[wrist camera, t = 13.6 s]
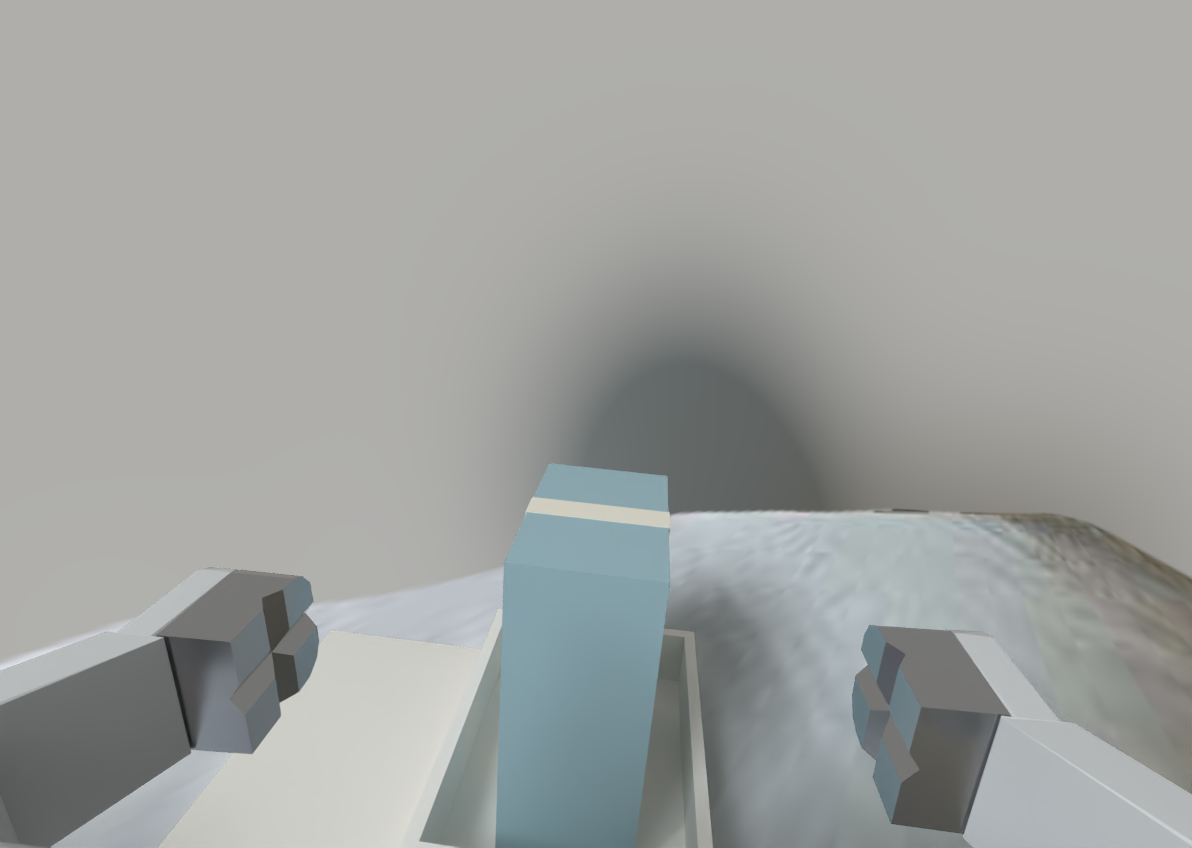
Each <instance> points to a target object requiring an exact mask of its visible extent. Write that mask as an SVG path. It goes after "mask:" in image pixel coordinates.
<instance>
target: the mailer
mask: <svg viewBox="0 0 1192 848" xmlns="http://www.w3.org/2000/svg"><path fill="white" fill-rule="evenodd" d="M502 615H503V608H498V611H497V613H496V615H495V618H494V620H493V623H492V625H491V628H490V630H489V633H488V635H487V637H486V640H485V642H484V645H483V647H482V649H476V648H468V647H460V646H452V645H445V644H437V643H429V642H421V641H413V640H406V639H398V638H390V637H382V636H374V635H367V634H359V633H351V632H343V631H335V630H331V631H330V632H329V633H328V634H327V636H326V637H325V638H324V639H323V641H322V642H321V643H320V644H319V646H318V655H317V659H316V662H315V665H314V667H313V670H312V673H311V675H310V677H309V679H308V680H307V682H306V683H305V684H304V686H303V687H302V689H301V690H300V691H299V692H298V693H296V694H295V695H293V696H291V697H289V698H288V699H286V700H284V701H282V702H280V709H281V717H280V718H279V720H278V721H277V722H276V724H275V725H274V726H273V728H272V729H271V730H270V732H269V733H268V734H267V735H266V737H265V738H264V739H263V741H262V742H261V743H260V745H259V746H258V747H257V749H256V750H255V751H254V753H253V754H242V753H233V754H232V755H231V756H230V757H229V759H228V760H227V761H226V762H225V764H224V765H223V766H222V767H221V769H220V770H219V771H218V772H217V774H216V775H215V776H214V777H213V779H212V780H211V781H210V782H209V784H208V785H207V786H206V788H205V789H204V790H203V791H202V793H201V794H200V795H199V796H198V798H197V799H196V800H195V801H194V803H193V804H192V805H191V806H190V808H189V809H188V810H187V811H186V813H185V814H184V815H183V816H182V818H181V819H180V820H179V821H178V823H177V824H176V825H175V826H174V828H173V829H172V830H171V831H170V833H169V834H168V835H167V836H166V838H165V839H164V840H163V842H162V843H161V844H160V845H159V847H158V848H495V839H496V807H497V775H498V743H499V711H500V679H501V647H502ZM635 848H713V841H712V830H711V819H710V807H709V796H708V784H707V773H706V761H705V750H704V739H703V727H702V716H701V704H700V693H699V682H698V670H697V659H696V647H695V636H694V632H691V631H683V630H675V629H667V628H664V633H663V640H662V648H661V655H660V663H659V671H658V678H657V686H656V693H655V701H654V708H653V716H652V724H651V731H650V739H649V746H648V754H647V762H646V769H645V777H644V784H643V792H642V800H641V807H640V815H639V822H638V830H637V837H636V845H635Z"/></svg>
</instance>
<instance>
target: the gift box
mask: <svg viewBox="0 0 1192 848" xmlns="http://www.w3.org/2000/svg"><path fill="white" fill-rule="evenodd" d="M667 487H668V486H667V476H660V475H652V474H643V473H634V472H624V471H615V470H606V469H596V468H586V467H577V466H569V465H560V464H549V465H548V467H547V469H546V472H545V474H544V476H543V478H542V480H541V483H540V485H539V487H538V489H537V491H536V494H535V496H534V497H532V499H531V501H530V503H529V506H528V508H527V510H526V516H525V518H524V520H523V522H522V524H521V527H520V529H519V531H518V533H517V535H516V538H515V540H514V542H513V544H512V546H511V549H510V551H509V553H508V555H507V558H506V560H505V562H504V583H503V615H502V647H501V679H500V711H499V743H498V775H497V807H496V839H495V848H635V845H636V837H637V830H638V822H639V815H640V807H641V800H642V792H643V784H644V777H645V769H646V762H647V754H648V746H649V739H650V731H651V724H652V716H653V708H654V701H655V693H656V686H657V678H658V671H659V663H660V655H661V648H662V640H663V633H664V625H665V617H666V610H667V602H668V595H669V587H670V560H669V533H670V513H669V512H668V488H667Z"/></svg>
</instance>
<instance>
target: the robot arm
mask: <svg viewBox="0 0 1192 848" xmlns="http://www.w3.org/2000/svg"><path fill="white" fill-rule="evenodd" d="M312 603H313V596H312V591H311V585H310V582H309V581H308V580H306V579H305V578H303V577H302V576H294V575H284V574H275V573H266V572H256V571H247V570H236V569H226V568H214V567H209V568H204V569H199V570H197V571H196V572H195V573H193V574H192V575H191V576H190V577H188V578H187V579H186V580H184V581H183V582H182V583H181V584H179V585H178V586H177V587H175V588H174V589H173V590H171V591H170V592H169V593H167V594H166V595H165V596H164V597H162V598H161V599H160V600H159V601H157V602H156V603H154V604H153V605H152V606H151V607H149V608H148V609H147V610H145V611H144V612H143V613H141V614H140V615H139V616H137V617H136V618H135V619H134V620H132V621H131V622H130V623H128V624H127V625H126V626H124V627H123V628H122V629H121V630H119V631H118V632H117V633H114V632H104V633H101V634H98V635H96V636H93V637H90V638H88V639H85V640H82V641H80V642H77V643H74V644H71V645H69V646H66V647H63V648H61V649H58V650H55V651H53V652H50V653H47V654H44V655H42V656H39V657H36V658H34V659H31V660H28V661H26V662H23V663H20V664H17V665H15V666H12V667H9V668H7V669H4V670H1V671H0V848H50V847H51V846H52V845H54V844H55V843H57V842H58V841H60V840H61V839H63V838H64V837H66V836H67V835H69V834H70V833H72V832H73V831H75V830H76V829H78V828H79V827H81V826H82V825H84V824H85V823H87V822H88V821H90V820H91V819H93V818H94V817H96V816H97V815H99V814H100V813H102V812H103V811H105V810H106V809H108V808H109V807H111V806H112V805H114V804H115V803H117V802H118V801H120V800H121V799H123V798H124V797H126V796H127V795H129V794H130V793H132V792H133V791H135V790H136V789H138V788H139V787H141V786H142V785H144V784H145V783H147V782H148V781H150V780H151V779H153V778H154V777H156V776H157V775H159V774H160V773H162V772H163V771H165V770H166V769H168V768H169V767H171V766H172V765H174V764H175V763H177V762H178V761H180V760H181V759H183V758H184V757H186V756H187V755H189V754H190V753H191V750H203V751H216V752H229V753H242V754H253V753H254V751H255V750H256V749H257V747H258V746H259V745H260V743H261V742H262V741H263V739H264V738H265V737H266V735H267V734H268V733H269V732H270V730H271V729H272V728H273V726H274V725H275V724H276V722H277V721H278V720H279V718H280V717H281V709H280V702H282V701H284V700H286V699H288V698H289V697H291V696H293V695H295V694H296V693H298V692H299V691H300V690H301V689H302V687H303V686H304V684H305V683H306V682H307V680H308V679H309V677H310V675H311V673H312V670H313V667H314V665H315V662H316V659H317V655H318V644H319V638H318V630H317V626H316V625H315V624H314V623H313V621H312V620H311V619H310V618H309V617H308V616H307V614H306V612H307V610H308V609H309V607H310V606H311V604H312ZM861 650H862V652H863V655H864V657H865V659H866V661H867V663H868V665H867V666H866V667H865V668H864V669H863V670H862V671H860V672H859V673H858V674H857V675H856V676H855V682H854V688H853V694H852V706H853V719H854V724H855V729H856V733H857V736H858V739H859V741H860V744H861V747H862V749H864V750H865V751H866V752H867V753H868V754H869V755H870V756H871V757H873V758H874V759H875V760H876V765H875V770H874V774H873V779H874V781H875V784H876V786H877V789H878V791H879V794H880V797H881V799H882V802H883V804H884V807H885V809H886V812H887V814H888V817H889V820H890V822H891V824H896V825H903V826H910V827H918V828H925V829H932V830H940V831H947V832H954V833H961V834H964V835H963V838H964V839H965V840H966V841H967V842H968V843H969V844H970V845H971V846H972V847H973V848H1192V794H1190V793H1188V792H1187V791H1185V790H1184V789H1182V788H1180V787H1179V786H1177V785H1175V784H1174V783H1172V782H1170V781H1169V780H1167V779H1165V778H1164V777H1162V776H1160V775H1159V774H1157V773H1155V772H1154V771H1152V770H1151V769H1149V768H1147V767H1146V766H1144V765H1142V764H1141V763H1139V762H1137V761H1136V760H1134V759H1132V758H1131V757H1129V756H1127V755H1126V754H1124V753H1123V752H1121V751H1119V750H1118V749H1116V748H1114V747H1113V746H1111V745H1109V744H1108V743H1106V742H1104V741H1103V740H1101V739H1099V738H1098V737H1096V736H1095V735H1093V734H1091V733H1090V732H1088V731H1086V730H1085V729H1083V728H1081V727H1080V726H1078V725H1076V724H1075V723H1070V722H1060V720H1059V719H1058V718H1057V717H1056V715H1055V714H1054V713H1053V712H1052V710H1051V709H1050V708H1049V707H1048V705H1047V704H1046V703H1045V702H1044V700H1043V699H1042V698H1041V697H1040V695H1039V694H1038V693H1037V692H1036V690H1035V689H1034V688H1033V687H1032V685H1031V684H1030V683H1029V682H1028V680H1027V679H1026V678H1025V676H1024V675H1023V674H1022V673H1021V671H1020V670H1019V669H1018V668H1017V666H1016V665H1015V664H1014V663H1013V661H1012V660H1011V659H1010V658H1009V656H1008V655H1007V654H1006V653H1005V651H1004V650H1003V649H1002V648H1001V646H1000V645H999V644H998V643H997V641H996V640H995V639H994V638H993V637H992V636H990V635H989V634H987V633H985V632H980V631H962V630H931V629H917V628H903V627H889V626H875V625H869V627H868V629H867V631H866V633H865V635H864V639H863V643H862V648H861Z"/></svg>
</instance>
